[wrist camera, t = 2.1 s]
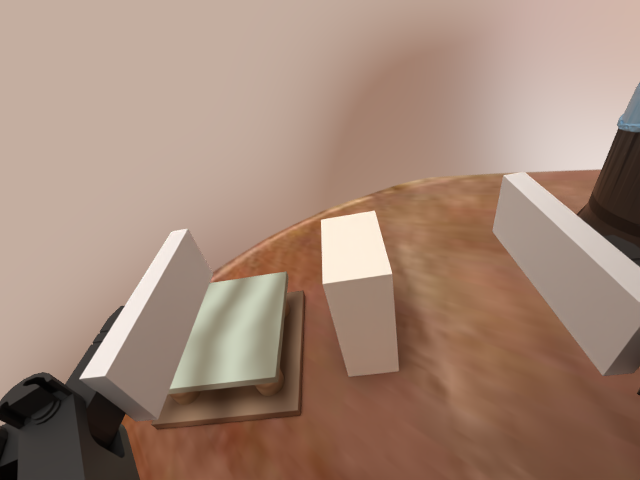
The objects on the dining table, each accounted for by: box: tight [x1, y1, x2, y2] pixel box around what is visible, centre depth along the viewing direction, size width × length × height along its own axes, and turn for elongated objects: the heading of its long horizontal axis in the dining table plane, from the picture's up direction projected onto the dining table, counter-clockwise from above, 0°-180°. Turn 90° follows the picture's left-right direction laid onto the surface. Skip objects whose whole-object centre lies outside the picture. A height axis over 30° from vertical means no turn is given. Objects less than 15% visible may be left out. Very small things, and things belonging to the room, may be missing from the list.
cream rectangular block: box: [321, 211, 399, 377], centre depth 32 cm, size 6×9×15 cm, turn 1°
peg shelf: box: [151, 272, 305, 429], centre depth 37 cm, size 16×16×6 cm
